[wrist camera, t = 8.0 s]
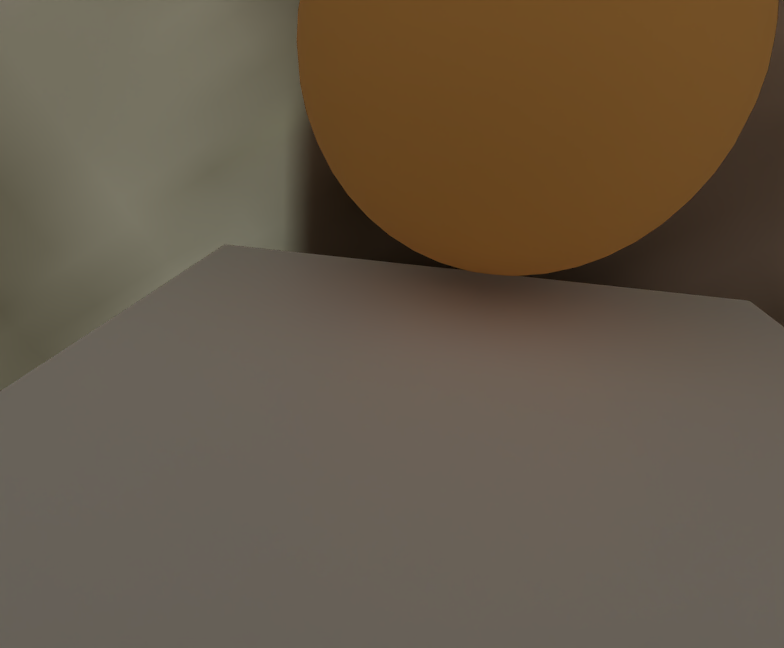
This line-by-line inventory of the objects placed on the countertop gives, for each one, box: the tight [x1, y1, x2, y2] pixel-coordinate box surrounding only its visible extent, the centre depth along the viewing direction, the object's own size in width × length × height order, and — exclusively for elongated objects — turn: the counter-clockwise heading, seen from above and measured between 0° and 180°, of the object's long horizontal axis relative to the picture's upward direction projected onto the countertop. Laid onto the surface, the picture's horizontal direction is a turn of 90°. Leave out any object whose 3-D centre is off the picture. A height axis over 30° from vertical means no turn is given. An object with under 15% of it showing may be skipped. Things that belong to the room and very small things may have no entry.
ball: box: [297, 0, 779, 276], centre depth 7 cm, size 5×5×5 cm
